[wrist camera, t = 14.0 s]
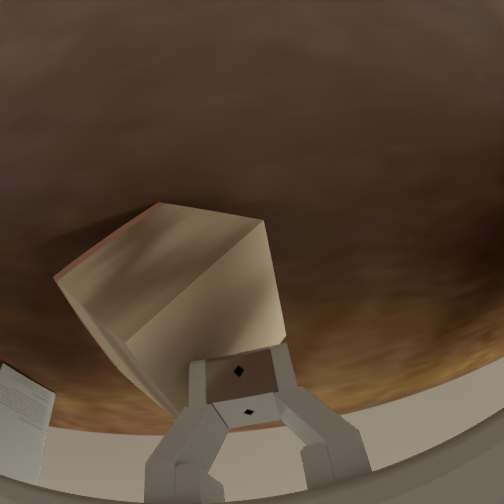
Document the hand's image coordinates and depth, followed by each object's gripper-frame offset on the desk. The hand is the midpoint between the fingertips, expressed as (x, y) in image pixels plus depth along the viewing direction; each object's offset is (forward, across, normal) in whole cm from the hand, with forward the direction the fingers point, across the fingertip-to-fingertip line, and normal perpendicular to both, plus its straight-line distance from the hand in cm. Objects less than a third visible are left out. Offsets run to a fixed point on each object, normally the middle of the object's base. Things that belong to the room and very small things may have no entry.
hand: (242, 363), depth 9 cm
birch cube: (+1, 0, 0) cm, 1 cm away
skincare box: (+8, -23, -10) cm, 26 cm away
